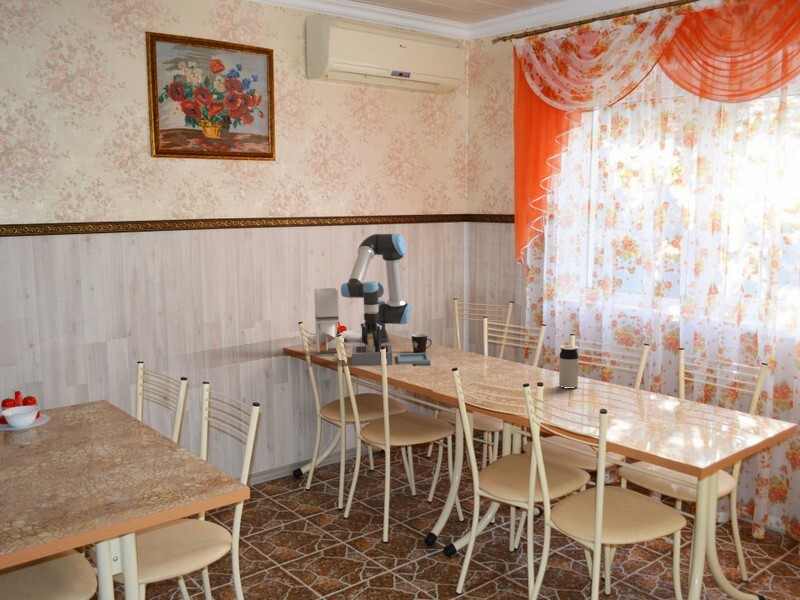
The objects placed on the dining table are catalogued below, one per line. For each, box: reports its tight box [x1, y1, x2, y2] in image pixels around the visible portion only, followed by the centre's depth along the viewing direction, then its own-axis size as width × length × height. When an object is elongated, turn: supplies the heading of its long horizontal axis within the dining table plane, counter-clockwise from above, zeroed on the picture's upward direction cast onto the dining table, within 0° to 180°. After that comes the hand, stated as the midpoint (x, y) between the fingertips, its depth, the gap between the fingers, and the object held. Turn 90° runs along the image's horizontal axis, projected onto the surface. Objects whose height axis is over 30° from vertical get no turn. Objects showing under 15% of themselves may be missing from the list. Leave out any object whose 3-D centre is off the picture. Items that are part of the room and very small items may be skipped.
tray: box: [396, 352, 431, 367], centre depth 385 cm, size 18×16×2 cm
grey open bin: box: [351, 344, 393, 367], centre depth 384 cm, size 20×20×7 cm
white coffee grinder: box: [313, 287, 339, 357], centre depth 405 cm, size 11×11×35 cm
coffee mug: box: [411, 333, 432, 353], centre depth 402 cm, size 12×9×10 cm
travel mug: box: [558, 344, 579, 388], centre depth 330 cm, size 8×8×18 cm
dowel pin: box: [367, 333, 374, 353], centre depth 383 cm, size 4×4×14 cm
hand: (372, 357), depth 384 cm, fingers closed on dowel pin, 4 cm apart
